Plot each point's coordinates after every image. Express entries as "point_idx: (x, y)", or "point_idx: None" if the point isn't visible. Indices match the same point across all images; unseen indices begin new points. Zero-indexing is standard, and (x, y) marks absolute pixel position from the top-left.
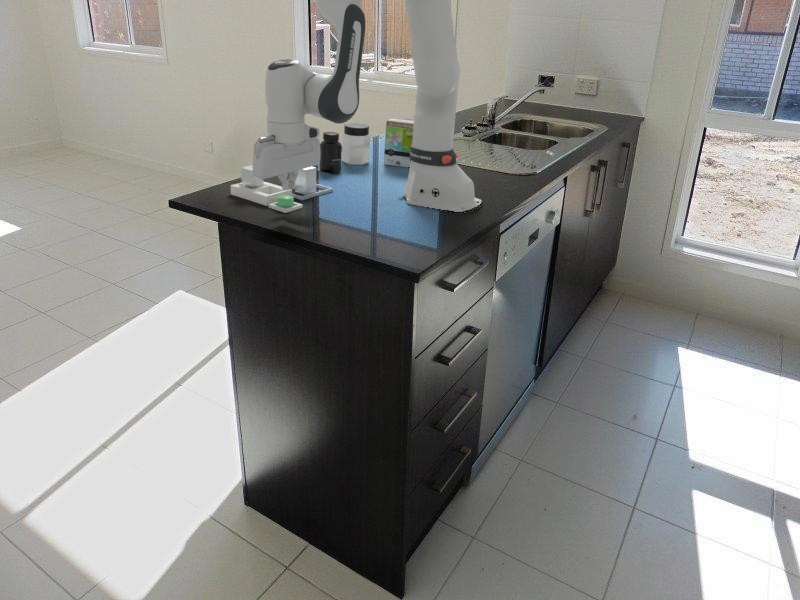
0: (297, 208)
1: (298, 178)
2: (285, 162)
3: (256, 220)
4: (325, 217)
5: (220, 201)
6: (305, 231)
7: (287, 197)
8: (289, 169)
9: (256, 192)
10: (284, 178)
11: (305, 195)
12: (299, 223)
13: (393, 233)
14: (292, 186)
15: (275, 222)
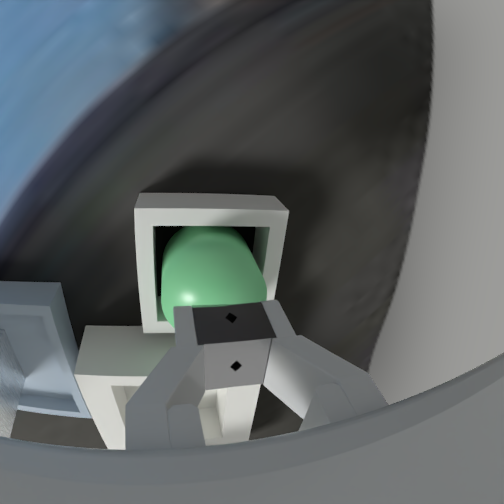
0: (183, 202)
1: (2, 417)
2: (483, 497)
3: (373, 257)
4: (121, 37)
5: (271, 434)
6: (372, 5)
7: (200, 298)
8: (376, 444)
9: (243, 418)
10: (360, 369)
11: (21, 312)
12: (305, 80)
13: None
14: (214, 314)
15: (358, 183)
